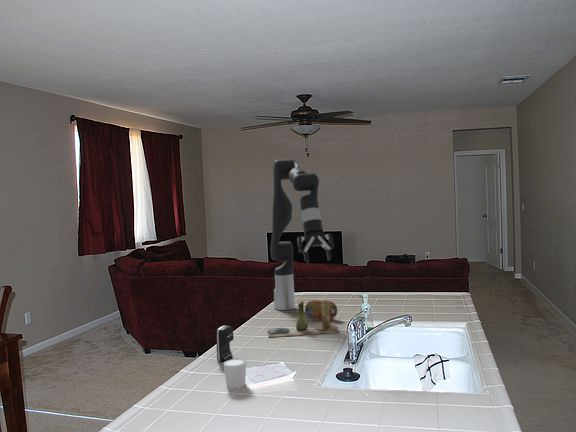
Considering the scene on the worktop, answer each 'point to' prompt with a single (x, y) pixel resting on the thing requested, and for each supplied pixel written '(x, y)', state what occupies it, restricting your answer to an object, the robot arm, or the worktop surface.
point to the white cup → (235, 373)
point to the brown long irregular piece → (321, 329)
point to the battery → (224, 342)
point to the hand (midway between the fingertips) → (318, 261)
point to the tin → (319, 310)
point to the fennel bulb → (301, 318)
